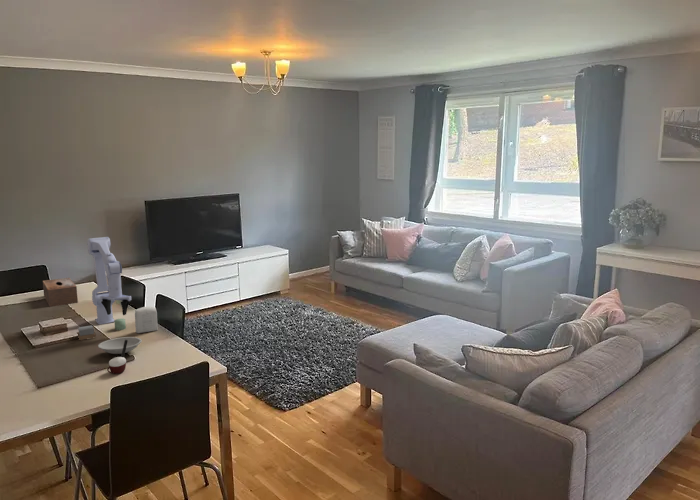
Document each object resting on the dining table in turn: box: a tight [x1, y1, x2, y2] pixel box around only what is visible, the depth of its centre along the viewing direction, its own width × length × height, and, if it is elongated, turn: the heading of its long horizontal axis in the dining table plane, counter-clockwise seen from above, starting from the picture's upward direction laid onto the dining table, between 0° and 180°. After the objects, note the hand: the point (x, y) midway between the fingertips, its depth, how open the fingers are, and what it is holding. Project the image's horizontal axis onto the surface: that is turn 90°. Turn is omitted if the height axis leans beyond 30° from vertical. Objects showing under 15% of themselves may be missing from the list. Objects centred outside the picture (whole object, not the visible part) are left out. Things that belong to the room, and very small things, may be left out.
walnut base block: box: [76, 331, 97, 341], centre depth 254 cm, size 7×7×2 cm
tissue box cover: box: [42, 277, 79, 308], centre depth 315 cm, size 26×14×10 cm, turn 36°
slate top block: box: [78, 324, 95, 336], centre depth 254 cm, size 6×6×2 cm
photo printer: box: [134, 306, 158, 334], centre depth 262 cm, size 10×4×12 cm, turn 123°
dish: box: [97, 336, 143, 355], centre depth 234 cm, size 18×14×5 cm
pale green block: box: [113, 318, 127, 331], centre depth 266 cm, size 5×5×4 cm
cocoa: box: [106, 340, 128, 375], centre depth 214 cm, size 10×6×12 cm, turn 126°
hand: (116, 314), depth 258 cm, fingers open, 7 cm apart
